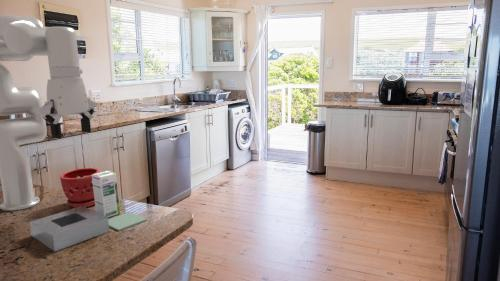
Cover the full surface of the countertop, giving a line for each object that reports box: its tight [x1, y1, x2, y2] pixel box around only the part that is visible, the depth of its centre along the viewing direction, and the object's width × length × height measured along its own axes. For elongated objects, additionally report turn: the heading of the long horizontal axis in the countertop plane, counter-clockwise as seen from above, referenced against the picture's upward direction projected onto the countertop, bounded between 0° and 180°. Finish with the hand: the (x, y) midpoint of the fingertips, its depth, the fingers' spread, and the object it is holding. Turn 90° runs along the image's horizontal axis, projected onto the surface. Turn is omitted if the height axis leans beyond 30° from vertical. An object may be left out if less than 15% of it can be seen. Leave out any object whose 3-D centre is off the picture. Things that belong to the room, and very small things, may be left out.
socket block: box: [29, 206, 110, 252], centre depth 114 cm, size 16×16×4 cm
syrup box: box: [92, 170, 121, 219], centre depth 128 cm, size 6×6×14 cm
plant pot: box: [59, 167, 101, 208], centre depth 139 cm, size 13×13×12 cm
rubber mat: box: [108, 211, 148, 232], centre depth 123 cm, size 10×10×1 cm
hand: (72, 134), depth 108 cm, fingers open, 9 cm apart
